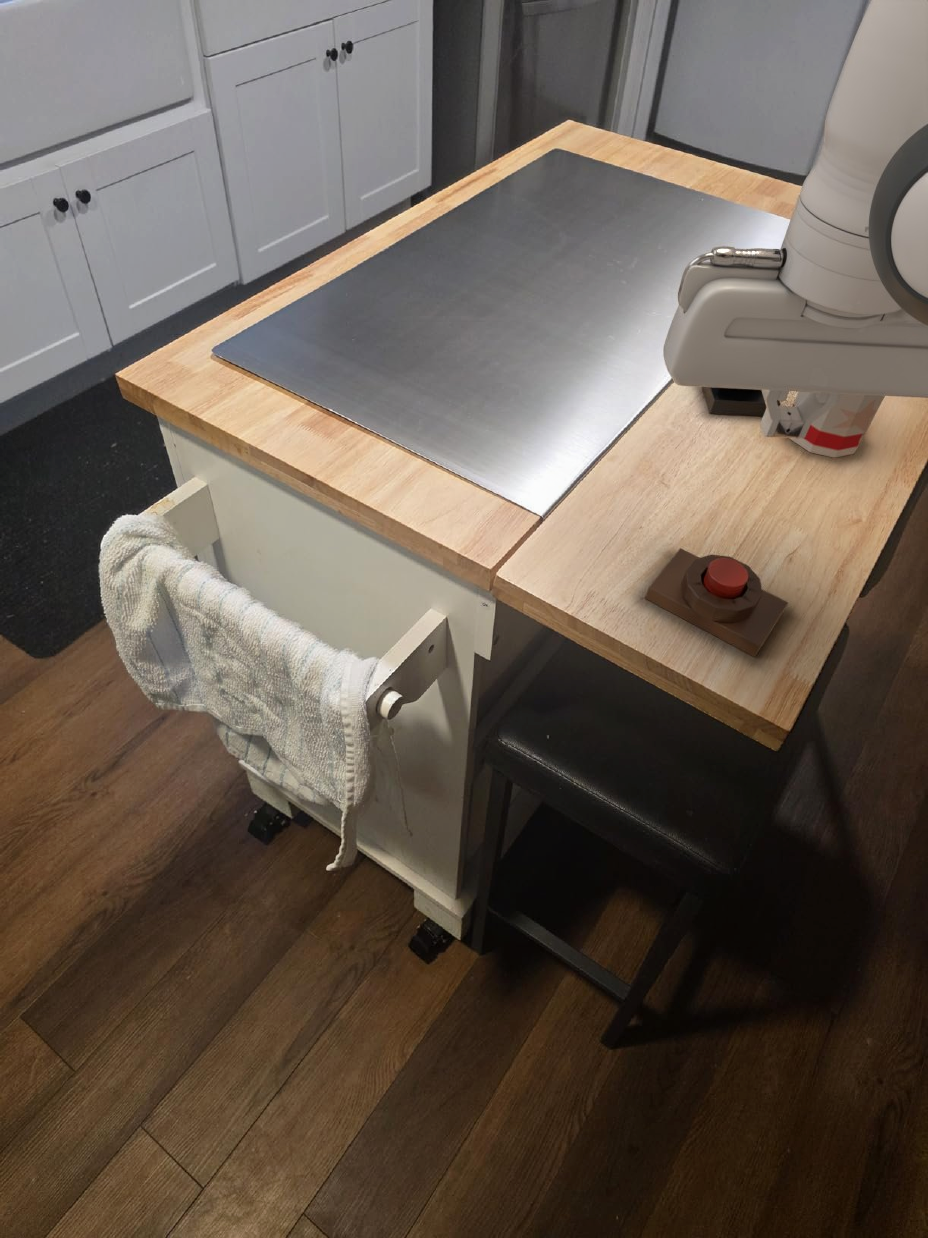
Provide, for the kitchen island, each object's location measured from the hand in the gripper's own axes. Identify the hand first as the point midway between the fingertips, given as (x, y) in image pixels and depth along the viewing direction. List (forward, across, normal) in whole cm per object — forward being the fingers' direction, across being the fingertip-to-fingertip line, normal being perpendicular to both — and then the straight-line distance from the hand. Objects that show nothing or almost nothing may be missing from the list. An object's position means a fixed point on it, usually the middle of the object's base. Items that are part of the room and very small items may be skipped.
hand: (781, 433), depth 65 cm
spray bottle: (+15, +14, +20) cm, 29 cm away
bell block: (+15, -2, -4) cm, 15 cm away
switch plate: (+15, +6, +28) cm, 32 cm away
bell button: (+12, -2, -5) cm, 13 cm away
